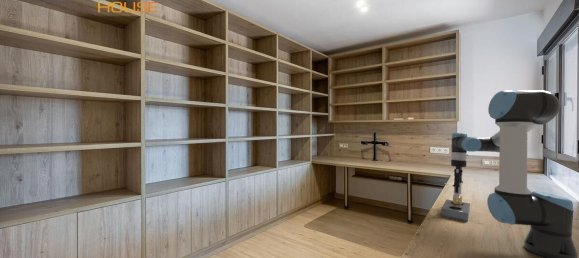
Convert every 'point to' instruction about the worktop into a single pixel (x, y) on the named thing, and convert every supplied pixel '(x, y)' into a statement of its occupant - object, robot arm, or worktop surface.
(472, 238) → the worktop surface
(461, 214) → the block
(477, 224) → the worktop surface
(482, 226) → the worktop surface
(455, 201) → the brass sleeve
